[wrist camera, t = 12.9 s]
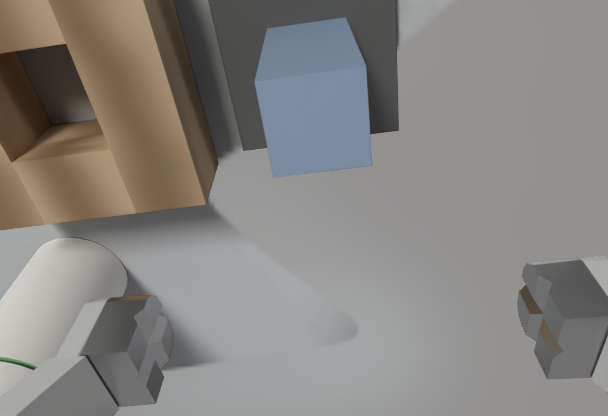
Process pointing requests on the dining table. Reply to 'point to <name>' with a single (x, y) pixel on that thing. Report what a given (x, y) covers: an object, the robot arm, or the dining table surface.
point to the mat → (297, 10)
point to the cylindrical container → (52, 302)
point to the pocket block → (102, 115)
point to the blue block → (313, 98)
